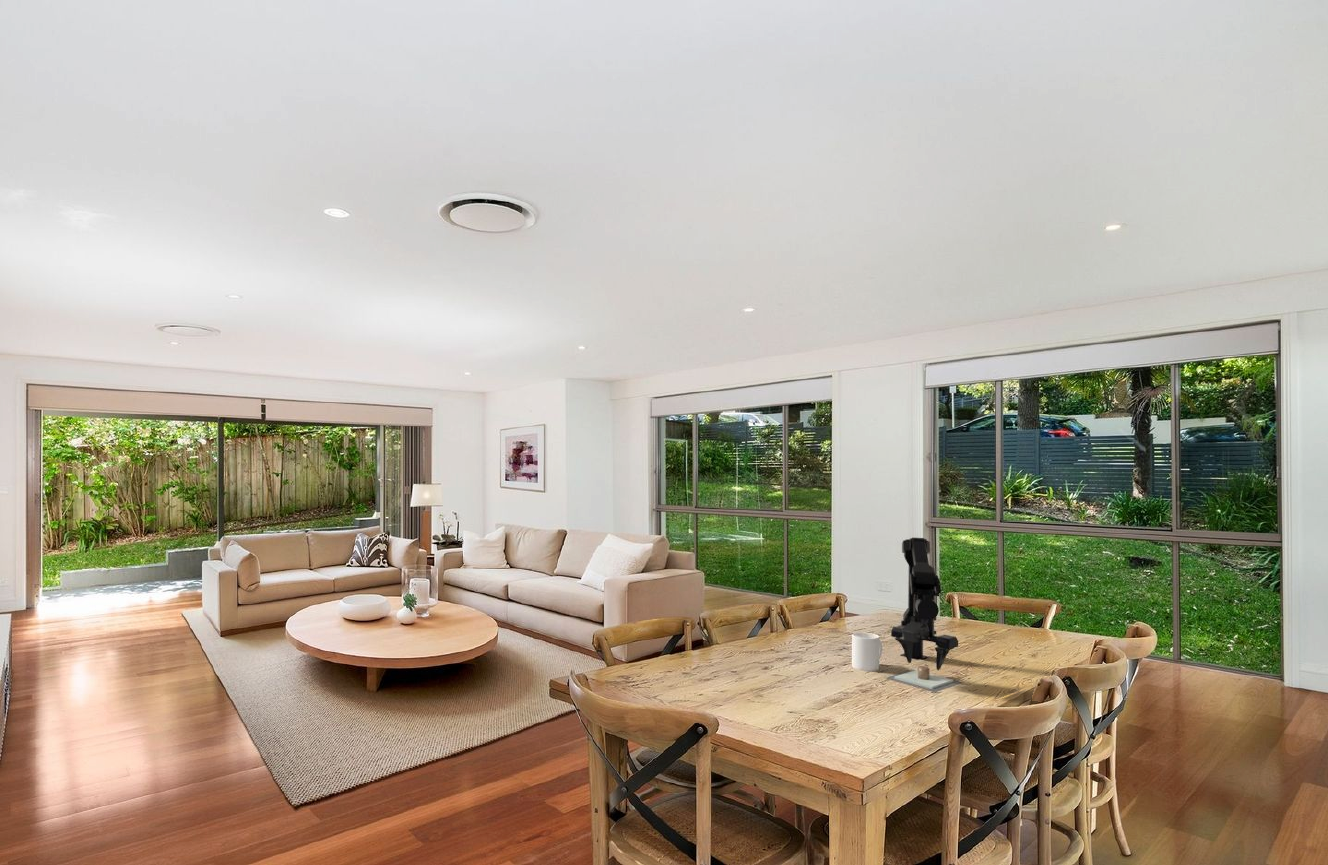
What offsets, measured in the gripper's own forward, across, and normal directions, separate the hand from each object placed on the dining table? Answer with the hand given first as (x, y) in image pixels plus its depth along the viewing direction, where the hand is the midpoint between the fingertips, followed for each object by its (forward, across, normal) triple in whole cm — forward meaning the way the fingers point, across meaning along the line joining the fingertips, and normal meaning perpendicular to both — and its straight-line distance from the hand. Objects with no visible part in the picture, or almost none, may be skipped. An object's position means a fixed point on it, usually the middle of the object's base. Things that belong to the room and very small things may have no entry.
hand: (923, 666), depth 203 cm
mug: (+5, -18, -1) cm, 19 cm away
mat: (+4, 0, 0) cm, 4 cm away
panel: (+4, 0, 0) cm, 4 cm away
